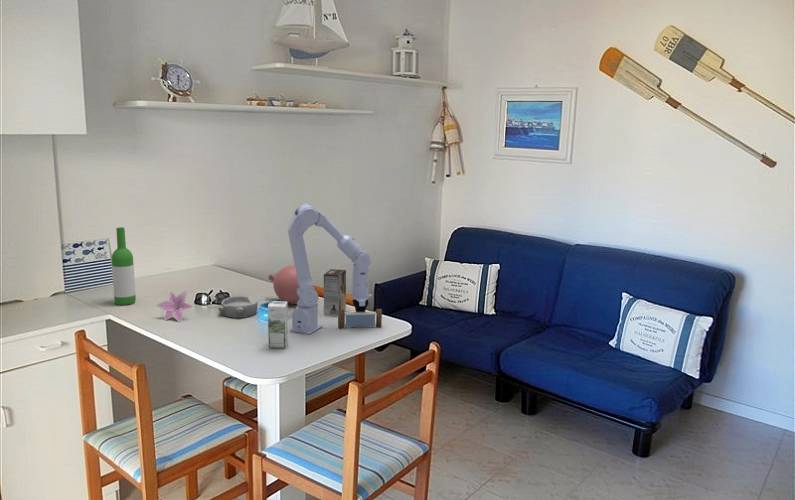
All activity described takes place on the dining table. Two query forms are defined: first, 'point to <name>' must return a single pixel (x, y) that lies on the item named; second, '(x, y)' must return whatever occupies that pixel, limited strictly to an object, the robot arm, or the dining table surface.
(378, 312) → the gate posts
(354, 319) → the block
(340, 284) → the coffee box
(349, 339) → the dining table surface
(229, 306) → the dish
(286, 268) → the pink balloon
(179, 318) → the lily
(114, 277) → the wine bottle
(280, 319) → the syrup box
